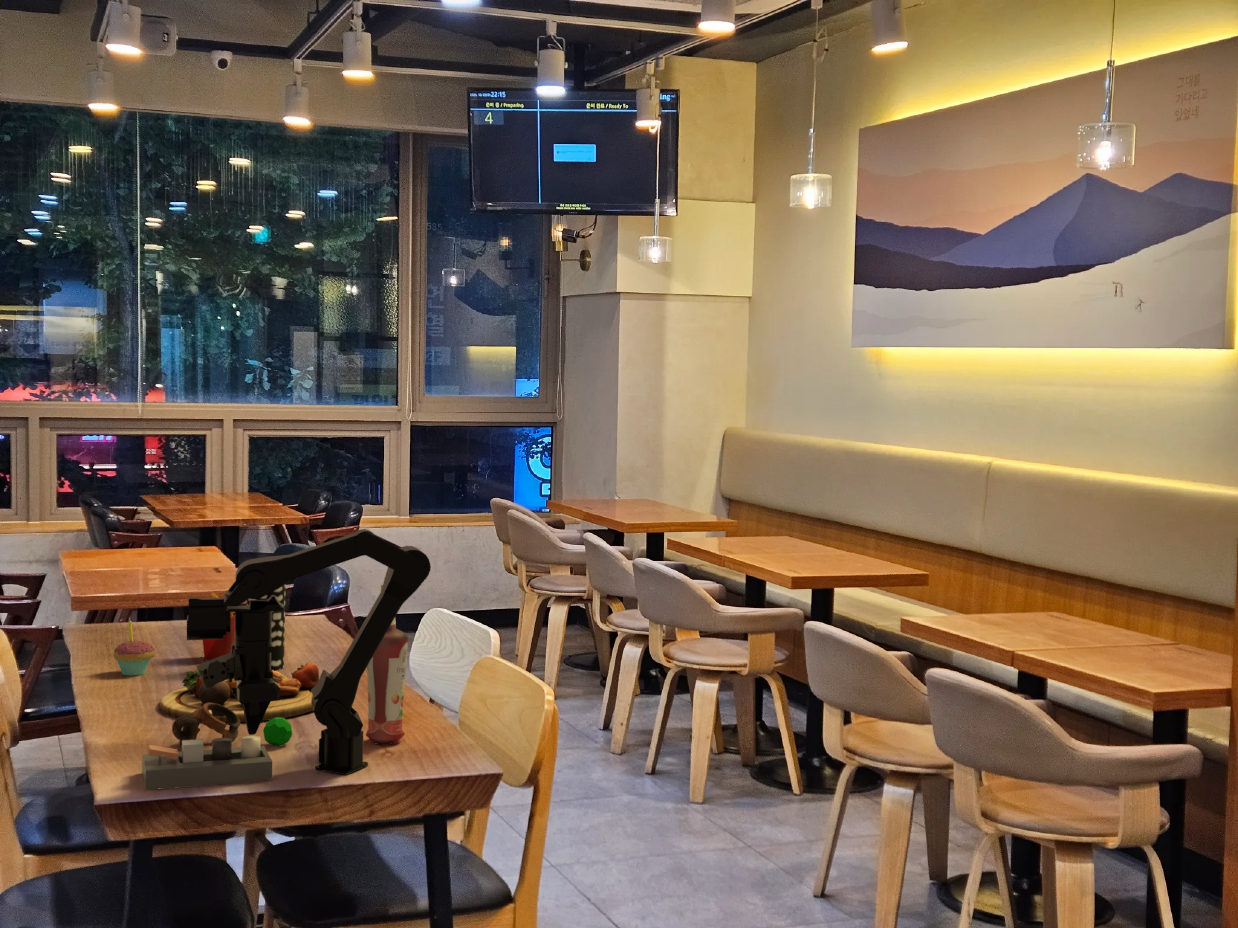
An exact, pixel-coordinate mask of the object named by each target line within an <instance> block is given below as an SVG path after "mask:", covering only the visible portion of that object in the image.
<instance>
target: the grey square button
mask: <svg viewBox="0 0 1238 928" xmlns="http://www.w3.org/2000/svg"><path fill="white" fill-rule="evenodd" d="M203 750H204V742H203V740H202V739H200V738H199V739H198V738H196V740H182V747H181V752H182V761H183V763H190V762H203Z"/></svg>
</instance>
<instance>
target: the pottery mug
mask: <svg viewBox="0 0 1238 928" xmlns="http://www.w3.org/2000/svg"><path fill="white" fill-rule="evenodd" d="M208 710H211V711H212V714H211V713H209V711H208ZM214 716H226V718H227V721H228V723H225V722H223V721H221V720H219V719H217V718H216V717H214ZM200 720H202V721H203V722H200ZM200 723H201V724H202V725H204V726H206V727H207V728H208V729H210V730H213V731H215V732H216V733H217V734H219V735H222V736H221V738H230V739H232V743H233V742H235V740H236V739H237V738H238V736H239V727H240V726H241V722H240V719H239V718H238V716H237V715H236V714H235V713H234V712H233V711H231V710H230V709H228V708H227V707H225V706H222V705H220V704H216V703H206V704H204V705H203V707H202V708H200V709H197V710H195V711H194V712H192V713H191V714H190V716H181V717H179V718H176V719H175V720H174V722H173V723H172V727H171V728H172V729H171V730H172V734H173V736H174V737H175V738H176V739H177V740H179V741H178V746H179V747H181V748H182V740H197V739H198V734H199V733H200V731H201V728H199V726H200V725H201V724H200ZM227 726H229V727H228V729H227Z"/></svg>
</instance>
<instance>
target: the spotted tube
mask: <svg viewBox="0 0 1238 928" xmlns="http://www.w3.org/2000/svg"><path fill="white" fill-rule="evenodd" d="M286 589H287V588H286V584H285V585H284V586H282V587H280V588H279V589H277V590H275V591H273V592H271V593H269V594H267V595H266V596H264V597H262V598H258V599H248V600H247V601H246V605H250V600H268V599H269V598H270V597H271V595H275V597H276V599H277V600H278V601H279V602H280V603H282V604H283V607H284V610H283V611H272V629H271V644H272V646H273V653H271V670H273V671H274V670H275V671H279V670H282V668H283V669H284V668H285V641H286V640H285V639H286V638H285V637H286V636H285V635H286V633H285V631H286V627H285V626H286Z"/></svg>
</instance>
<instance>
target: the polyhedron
mask: <svg viewBox="0 0 1238 928" xmlns="http://www.w3.org/2000/svg"><path fill="white" fill-rule="evenodd" d="M262 731H263V737H264V741H265V742H266V743H267V744H269V745H270V746H272V747H281V745H282V746H284V745H286V744H287V743H288V742H290V740H291V738H292V736H293V729H292V724H291V721H290V722H289V721H288V720H287V719H286V718H282V717H276V718H273V719H271V720H267V722H266V723H265V725H264V727H263V730H262Z"/></svg>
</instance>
